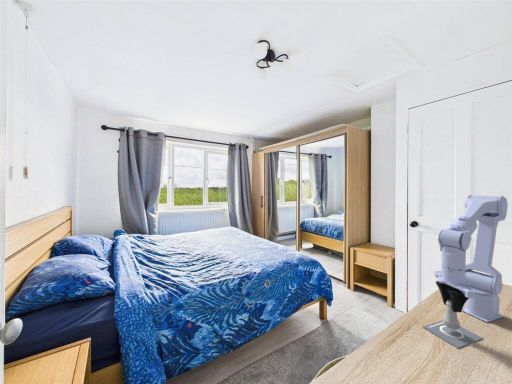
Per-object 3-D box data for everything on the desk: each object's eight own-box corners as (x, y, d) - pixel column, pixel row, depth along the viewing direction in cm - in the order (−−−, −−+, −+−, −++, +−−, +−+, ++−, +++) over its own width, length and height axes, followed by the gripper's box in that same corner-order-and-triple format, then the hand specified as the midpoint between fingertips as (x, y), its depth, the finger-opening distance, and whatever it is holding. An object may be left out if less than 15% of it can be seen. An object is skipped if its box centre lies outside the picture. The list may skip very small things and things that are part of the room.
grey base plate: (446, 319, 78) (446, 318, 78) (482, 338, 68) (482, 337, 68) (422, 327, 74) (422, 326, 74) (457, 348, 65) (457, 347, 64)
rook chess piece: (463, 331, 68) (465, 306, 68) (446, 328, 70) (447, 304, 69) (455, 322, 73) (456, 299, 72) (439, 320, 74) (440, 297, 73)
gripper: (425, 258, 78) (424, 295, 79) (456, 276, 64) (455, 321, 64) (447, 259, 77) (446, 296, 77) (484, 277, 63) (482, 323, 63)
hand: (452, 308), depth 71 cm, fingers closed on rook chess piece, 3 cm apart
